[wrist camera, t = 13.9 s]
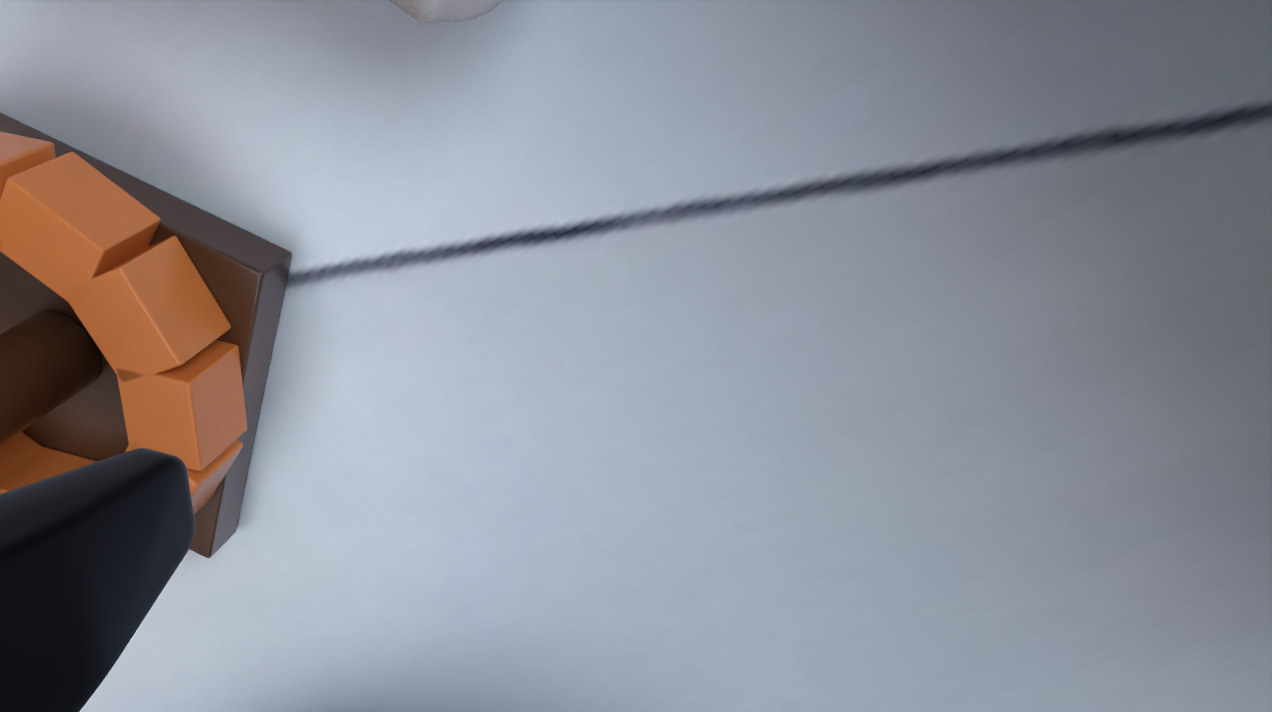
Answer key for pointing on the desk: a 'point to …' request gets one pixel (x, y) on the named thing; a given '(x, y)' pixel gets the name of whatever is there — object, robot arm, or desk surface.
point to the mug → (445, 9)
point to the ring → (123, 314)
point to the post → (82, 377)
